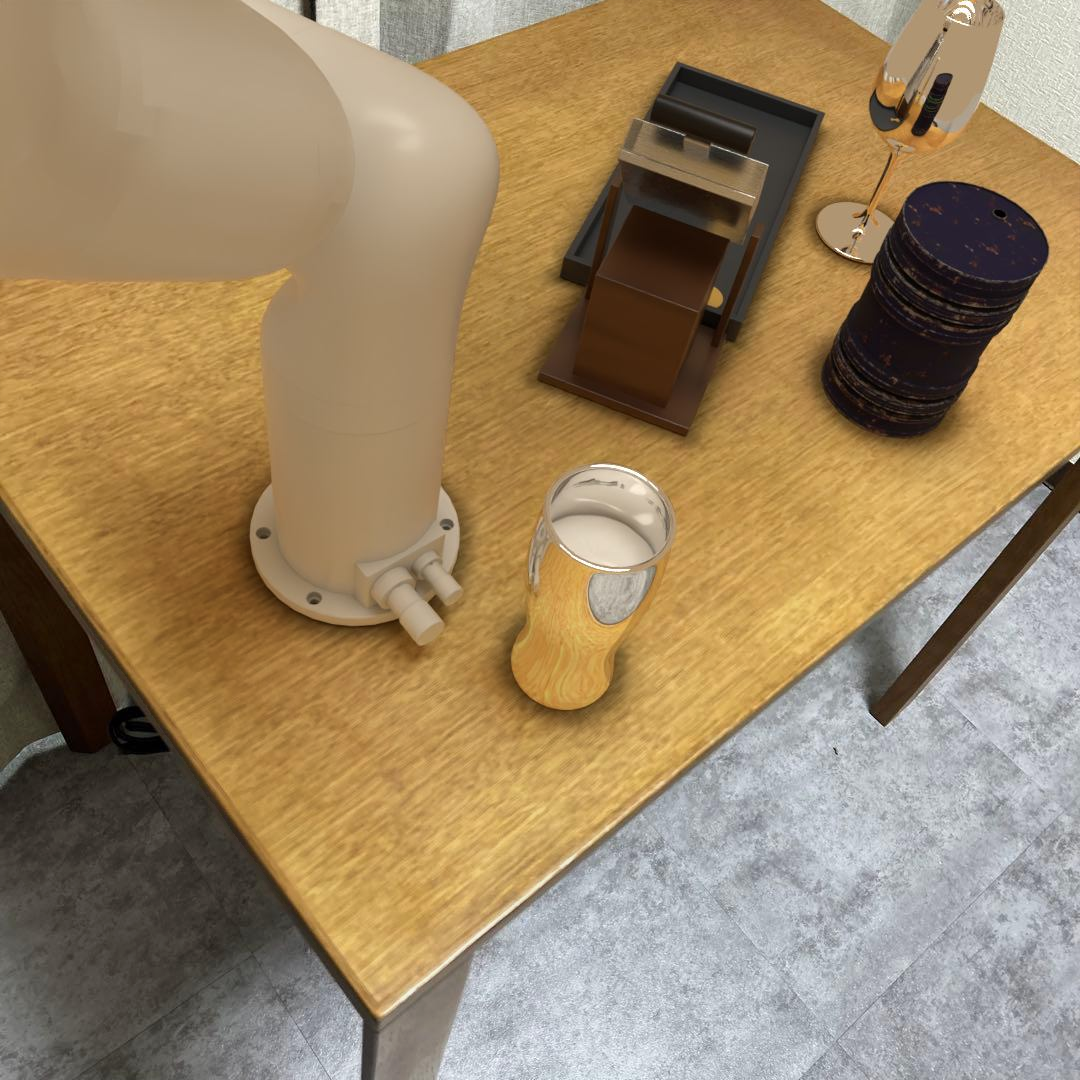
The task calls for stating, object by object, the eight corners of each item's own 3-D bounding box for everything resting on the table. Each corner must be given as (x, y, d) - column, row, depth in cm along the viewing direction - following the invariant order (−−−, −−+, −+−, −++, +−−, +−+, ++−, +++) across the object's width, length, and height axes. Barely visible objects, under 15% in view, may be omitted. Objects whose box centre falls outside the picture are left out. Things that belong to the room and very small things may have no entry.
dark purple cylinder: (896, 461, 79) (996, 305, 66) (793, 376, 82) (870, 213, 70) (973, 400, 83) (1079, 244, 71) (872, 322, 87) (957, 161, 75)
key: (724, 315, 84) (726, 309, 84) (688, 313, 84) (690, 307, 83) (708, 256, 88) (710, 250, 87) (674, 254, 87) (676, 248, 87)
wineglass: (899, 212, 95) (1012, -14, 79) (908, 273, 91) (1030, 46, 75) (811, 196, 95) (907, -35, 79) (815, 256, 90) (918, 24, 74)
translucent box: (755, 194, 63) (780, 131, 62) (614, 144, 63) (637, 81, 63) (742, 245, 77) (762, 194, 77) (626, 203, 78) (646, 152, 77)
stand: (686, 437, 77) (730, 321, 68) (537, 380, 78) (562, 259, 69) (724, 341, 83) (770, 224, 74) (586, 289, 84) (614, 168, 75)
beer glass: (609, 731, 63) (671, 591, 51) (491, 701, 63) (525, 554, 51) (628, 629, 67) (689, 477, 55) (516, 601, 67) (554, 443, 55)
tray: (734, 342, 83) (742, 322, 82) (559, 277, 85) (563, 256, 83) (817, 132, 101) (825, 112, 99) (671, 80, 102) (676, 60, 100)
